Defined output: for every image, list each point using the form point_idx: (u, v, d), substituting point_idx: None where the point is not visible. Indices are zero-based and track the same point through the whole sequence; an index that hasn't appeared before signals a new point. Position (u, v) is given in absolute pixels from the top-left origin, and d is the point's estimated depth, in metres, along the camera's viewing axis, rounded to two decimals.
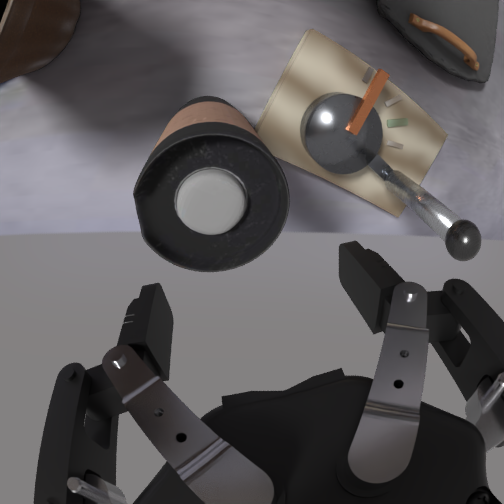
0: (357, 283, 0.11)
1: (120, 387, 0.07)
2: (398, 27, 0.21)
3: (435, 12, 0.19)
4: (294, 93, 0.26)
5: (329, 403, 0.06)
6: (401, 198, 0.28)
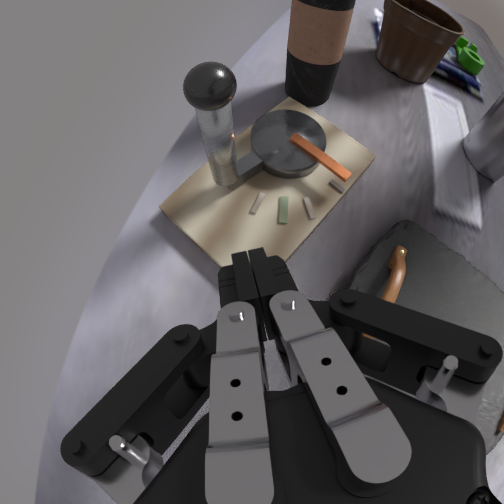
0: (256, 289, 0.12)
1: (221, 341, 0.08)
2: (387, 233, 0.31)
3: (411, 293, 0.29)
4: (324, 128, 0.35)
5: None
6: None
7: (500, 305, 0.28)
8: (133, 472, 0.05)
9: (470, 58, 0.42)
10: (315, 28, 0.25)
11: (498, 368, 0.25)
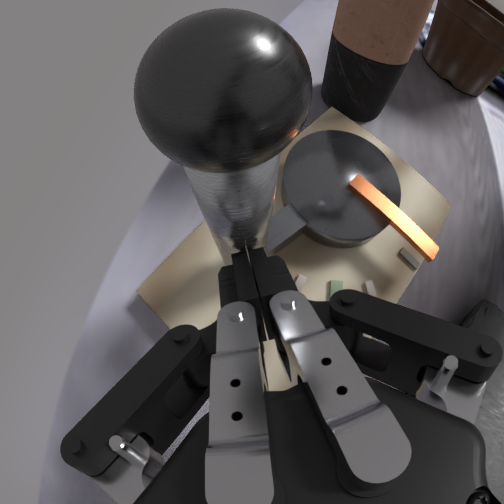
0: (256, 288, 0.12)
1: (221, 341, 0.08)
2: (465, 323, 0.19)
3: None
4: None
5: None
6: None
7: None
8: (133, 472, 0.05)
9: None
10: (388, 5, 0.12)
11: None
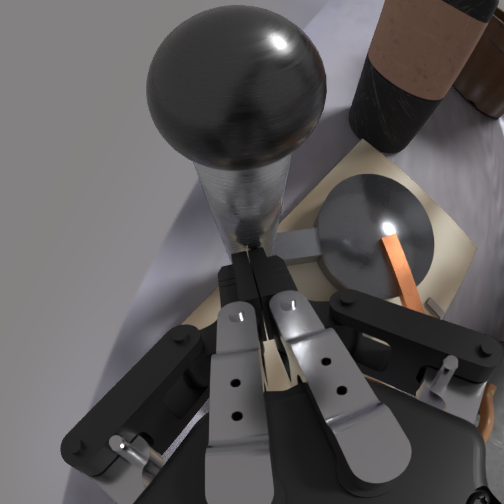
0: None
1: (221, 341, 0.08)
2: None
3: None
4: None
5: None
6: None
7: None
8: (133, 472, 0.05)
9: None
10: (438, 38, 0.11)
11: None
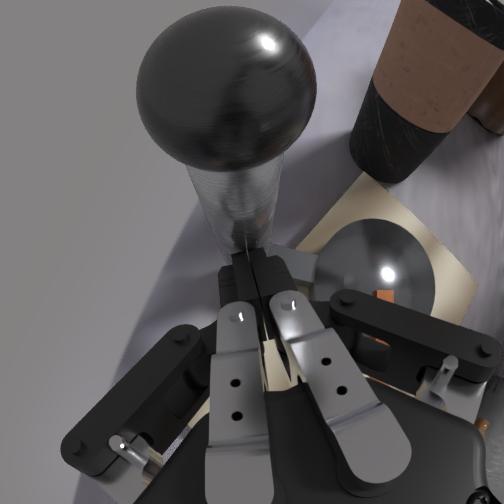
0: None
1: (221, 341, 0.08)
2: None
3: None
4: (419, 241, 0.21)
5: None
6: None
7: None
8: (133, 472, 0.05)
9: None
10: (454, 69, 0.10)
11: None
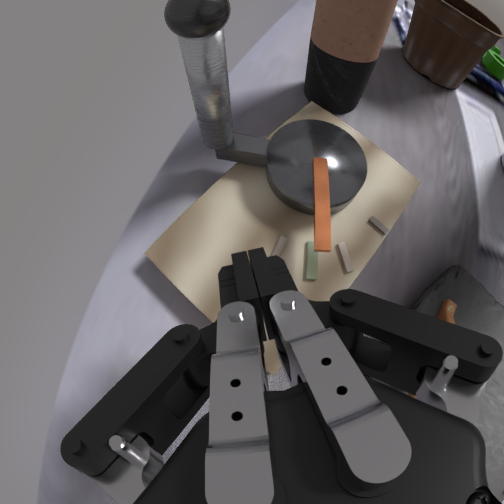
0: (256, 289, 0.12)
1: (221, 341, 0.08)
2: (436, 282, 0.23)
3: None
4: None
5: None
6: None
7: None
8: (133, 472, 0.05)
9: (496, 62, 0.34)
10: (353, 12, 0.17)
11: None
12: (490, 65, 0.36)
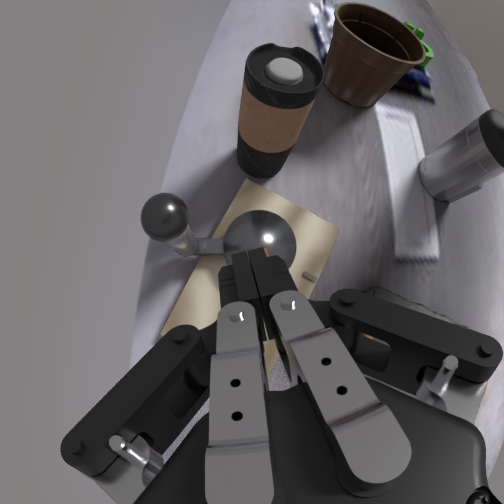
0: (256, 289, 0.12)
1: (221, 341, 0.08)
2: None
3: None
4: (288, 212, 0.39)
5: None
6: None
7: None
8: (133, 472, 0.05)
9: None
10: (275, 126, 0.27)
11: None
12: None
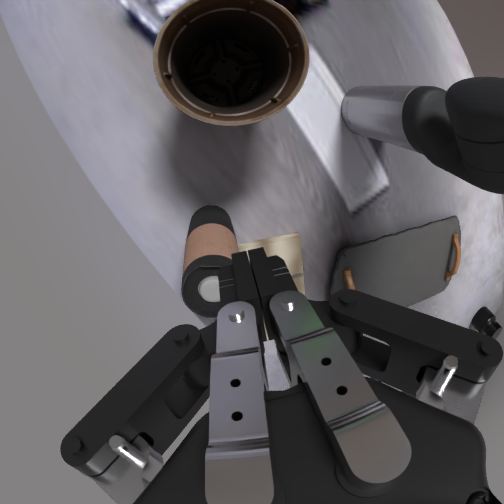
0: (256, 289, 0.12)
1: (221, 341, 0.08)
2: (336, 266, 0.55)
3: (361, 279, 0.57)
4: None
5: None
6: None
7: (421, 236, 0.55)
8: (133, 472, 0.05)
9: None
10: None
11: (430, 261, 0.59)
12: None
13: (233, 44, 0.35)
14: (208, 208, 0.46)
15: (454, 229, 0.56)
